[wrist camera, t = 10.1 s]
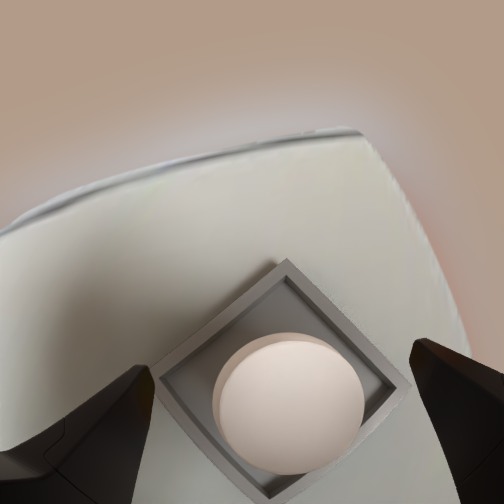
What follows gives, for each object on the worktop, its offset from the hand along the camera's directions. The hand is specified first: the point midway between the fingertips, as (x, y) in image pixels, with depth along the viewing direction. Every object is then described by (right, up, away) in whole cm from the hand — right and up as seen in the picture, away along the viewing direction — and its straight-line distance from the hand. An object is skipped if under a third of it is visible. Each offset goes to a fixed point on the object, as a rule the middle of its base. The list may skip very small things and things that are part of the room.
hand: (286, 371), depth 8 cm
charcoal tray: (+1, -5, +8) cm, 9 cm away
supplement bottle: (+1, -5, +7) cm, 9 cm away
